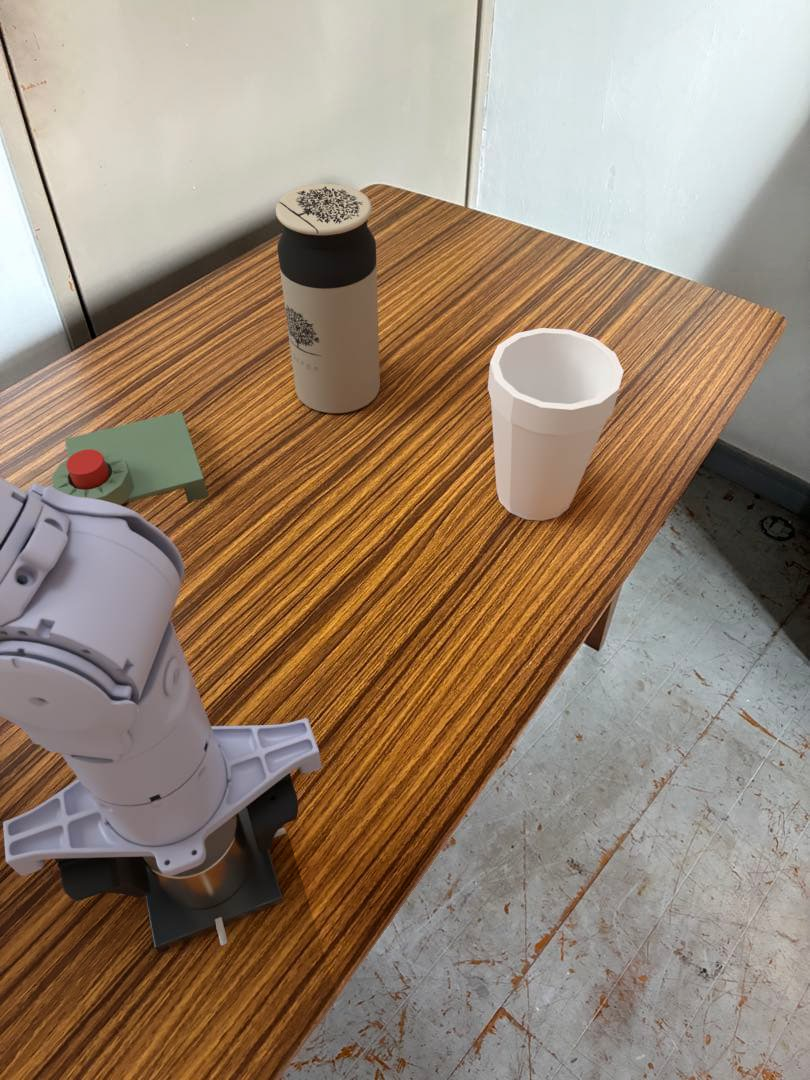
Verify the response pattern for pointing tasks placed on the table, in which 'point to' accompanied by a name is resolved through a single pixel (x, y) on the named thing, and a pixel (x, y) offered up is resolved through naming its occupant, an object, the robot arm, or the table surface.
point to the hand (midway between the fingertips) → (202, 855)
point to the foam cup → (548, 416)
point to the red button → (87, 469)
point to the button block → (139, 461)
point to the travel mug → (330, 296)
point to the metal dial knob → (210, 869)
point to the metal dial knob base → (250, 898)
